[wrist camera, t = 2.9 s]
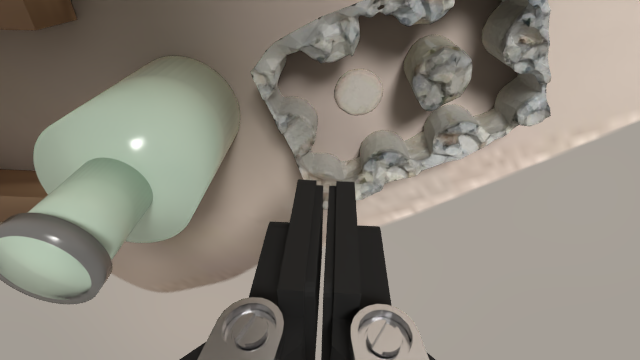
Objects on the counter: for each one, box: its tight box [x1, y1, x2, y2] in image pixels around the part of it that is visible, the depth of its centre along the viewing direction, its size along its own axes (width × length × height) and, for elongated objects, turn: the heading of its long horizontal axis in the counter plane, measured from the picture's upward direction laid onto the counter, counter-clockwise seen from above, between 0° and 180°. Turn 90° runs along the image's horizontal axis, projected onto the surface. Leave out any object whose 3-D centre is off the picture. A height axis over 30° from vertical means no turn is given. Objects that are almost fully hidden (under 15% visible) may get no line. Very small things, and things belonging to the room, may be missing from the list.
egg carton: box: [250, 0, 551, 210], centre depth 14 cm, size 11×8×4 cm
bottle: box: [0, 56, 240, 304], centre depth 13 cm, size 5×5×10 cm
